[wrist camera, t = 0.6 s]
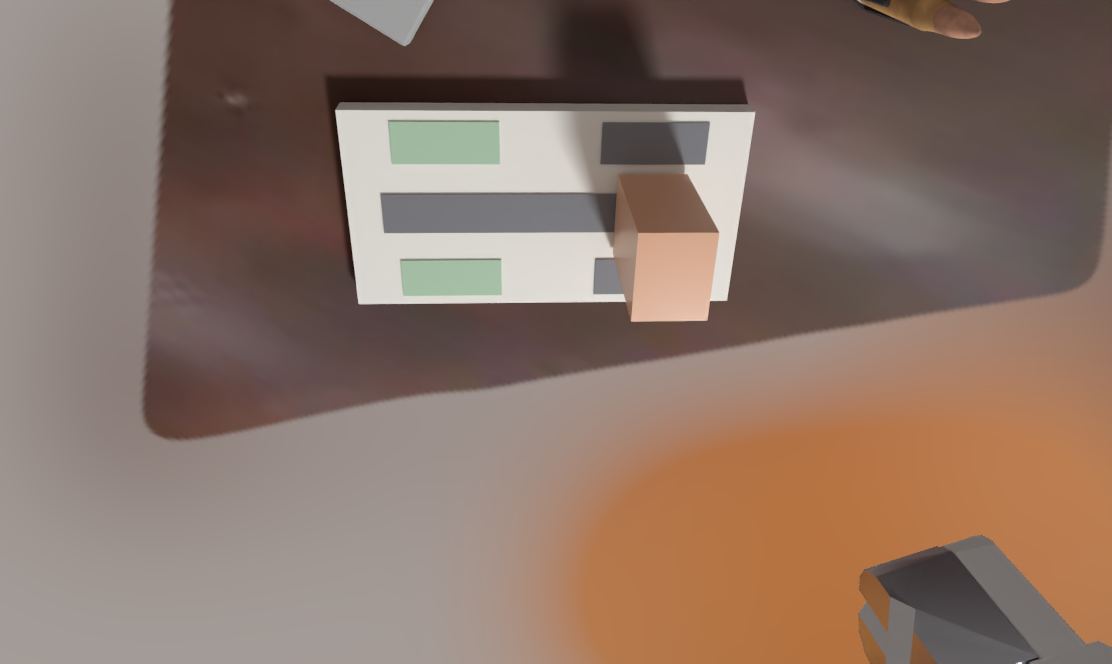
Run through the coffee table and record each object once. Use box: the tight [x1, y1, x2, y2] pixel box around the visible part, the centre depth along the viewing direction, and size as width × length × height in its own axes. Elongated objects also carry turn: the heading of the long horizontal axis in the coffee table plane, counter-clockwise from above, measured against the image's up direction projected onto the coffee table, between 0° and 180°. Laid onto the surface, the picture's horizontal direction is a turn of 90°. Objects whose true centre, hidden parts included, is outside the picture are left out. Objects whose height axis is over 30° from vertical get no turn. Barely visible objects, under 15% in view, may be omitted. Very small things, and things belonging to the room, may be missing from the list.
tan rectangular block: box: [613, 174, 719, 321], centre depth 44 cm, size 5×4×8 cm
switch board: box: [335, 102, 755, 304], centre depth 48 cm, size 12×23×2 cm, turn 89°
